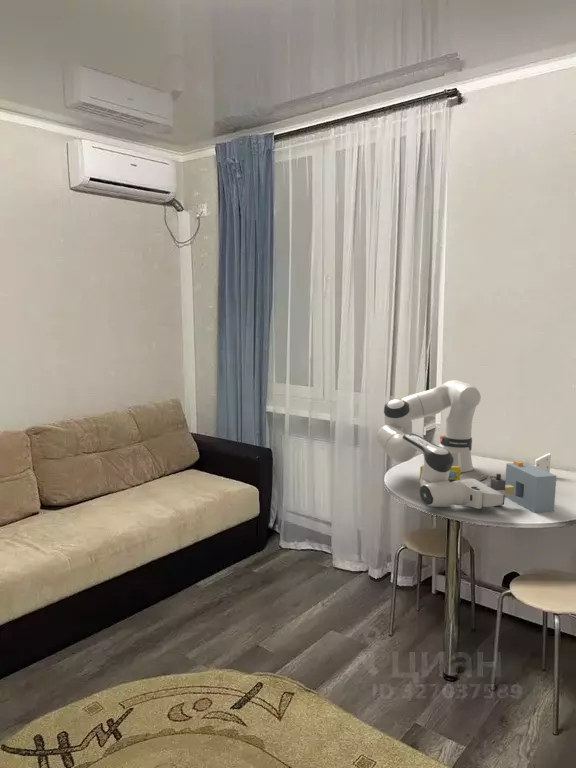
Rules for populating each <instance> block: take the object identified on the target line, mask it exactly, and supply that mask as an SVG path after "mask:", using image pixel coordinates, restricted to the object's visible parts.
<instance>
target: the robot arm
mask: <svg viewBox="0 0 576 768" xmlns="http://www.w3.org/2000/svg"><path fill="white" fill-rule="evenodd" d="M481 397H482V396H481V393H480V391H479V390H478V389H477V388H476V387H475V386H474V385H473V384H471V383H467V382H464V381H461V380H458V379H451V380H448V381H445V382H444V383H442V384H440V385H437V386H436V387H433V388H431V389H428V390H427V389H426V390H424V391H420V392H417V393H413V394H410V395H407V396H404V397H402V398H393V399H390V400H388V401H387V402H386V403H385V404H384V407H383V414H384V425H383V426H381V427H380V428H379V429H378V431H377V434H376V440H377V443H378V444H379V445H380V447H381V449H382V450H383V451H384V453H385V454H387V456H388V457H389V458H390V459H392V460H393V461H395V462H397V463H405V462H408V461H410V460H412V459H413V458H414V457H415V456H416V455H417V452H419V453H420V454H422V455H423V460H422V461H421V466H423V470H422V474H421V479H420V478H419V483H420V486H419V487H420V488H419V497H420V499H421V502H422V503H423V504H424V505H425V506H428V507H437V508H442V507H443V508H444V507H446V508H447V507H450V506H467V507H471V508H473V509H474V508H475V509H482V507H485V508H486V507H488V508H489V507H496V506H498V507H499V506H502V505H501V504H503V495H505V490H503V489H499V490H498V491H496V490H494V489H492V488H491V484H486V483H483V482H481V481H480V480H477V479H475V478H465V479H460V480H456V481H453V482H450V481H449V480H448V478H449V474H450V469H451V467H452V466H460V467H461V472H460V474H462V473H465V472H467V473H468V472H471V471H473V470H474V467H473V460H472V447H473V438H472V428H473V427H472V426H473V418H474V415H475V412H476V408H477V406H478V405H479V404H480V402H481ZM447 408H450V410H449V413H448V415H447V417H446V420H445V434H441V435H440V436H439V442H440V443H439V444H438V445H436V444H435V443H433V442H431V441H429V440H428V439H426V438H424V437H422V436H421V435H418V434H416V433H414V432H413V421H414V420H415V421H416V420H420V419H423V418H427V417H430V416H433V415H437V414H439V413H441V412H442V411H444V410H445V409H447ZM412 420H413V421H412ZM421 466H420V467H421Z"/></svg>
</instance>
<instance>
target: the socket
mask: <svg viewBox="0 0 576 768" xmlns="http://www.w3.org/2000/svg"><path fill="white" fill-rule="evenodd" d="M505 465H506V466H505V479H504V480H505V481H506V484H505V485H511V486H513V487H514V494H505V499H506V498H507V499H508V500H509V501H511V502H514V503H516V504H517V505H519V506H521V507H523V508H524V509H526V510H529V511H531V512H532V513H535V514H536V513H547V512H554V511H555V503H556V502H555V501H556V488H557V475H556V474H553V473H551V472H550V473H549V472H547V471H544V470H542V469H539V468H537V467H535V465H532V464H530V463H527V462H523V461H519V460H513V462H511V463H510V462H509V463H506V464H505Z"/></svg>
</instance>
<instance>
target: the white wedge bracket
mask: <svg viewBox="0 0 576 768" xmlns="http://www.w3.org/2000/svg"><path fill="white" fill-rule="evenodd" d="M551 458H552V454H551V453H550V452H548V453H546V454H544V455H542V456H540V457H538V458H536V459H535V460H534V466H535V467H537V468H539V469H542V470H544V471H547V472H549V473H551V472H550V471H551Z"/></svg>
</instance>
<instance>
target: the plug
mask: <svg viewBox="0 0 576 768" xmlns="http://www.w3.org/2000/svg"><path fill="white" fill-rule="evenodd" d="M505 480H506V479H503V478H502V474H501V473H496V474H495V477H494V478H493V477H492V478H490V485H491V488H492V489H494V490H496V491H498V490H499V489H503V490H505V494H514V487H513V486H511V485H505V484H506V481H505ZM505 501H506V497H505V495H503V504H501V505H500V506H505Z"/></svg>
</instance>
